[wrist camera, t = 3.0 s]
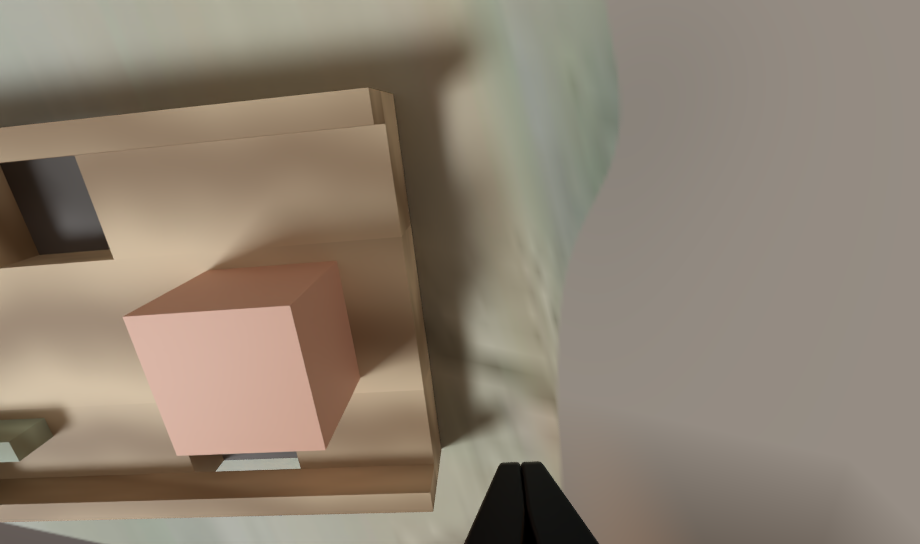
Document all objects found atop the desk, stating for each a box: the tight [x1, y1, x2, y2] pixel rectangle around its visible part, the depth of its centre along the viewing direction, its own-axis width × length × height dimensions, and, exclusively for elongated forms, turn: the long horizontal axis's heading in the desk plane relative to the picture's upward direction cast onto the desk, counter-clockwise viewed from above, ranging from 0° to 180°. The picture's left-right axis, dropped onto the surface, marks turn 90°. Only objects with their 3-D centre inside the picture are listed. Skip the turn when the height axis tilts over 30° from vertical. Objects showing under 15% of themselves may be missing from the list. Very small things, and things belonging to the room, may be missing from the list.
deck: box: [0, 87, 441, 522], centre depth 17 cm, size 16×22×4 cm
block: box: [123, 261, 360, 456], centre depth 15 cm, size 5×5×4 cm
